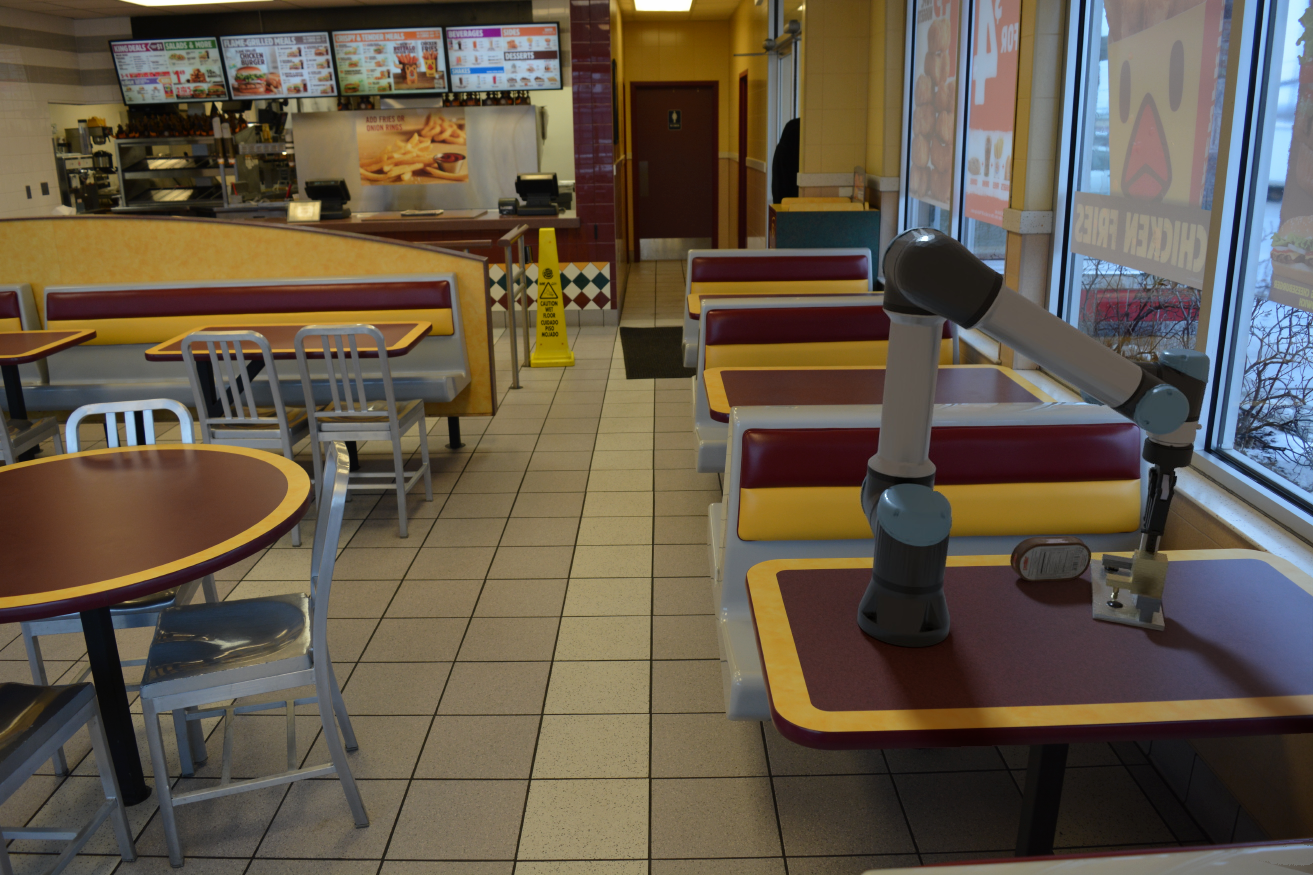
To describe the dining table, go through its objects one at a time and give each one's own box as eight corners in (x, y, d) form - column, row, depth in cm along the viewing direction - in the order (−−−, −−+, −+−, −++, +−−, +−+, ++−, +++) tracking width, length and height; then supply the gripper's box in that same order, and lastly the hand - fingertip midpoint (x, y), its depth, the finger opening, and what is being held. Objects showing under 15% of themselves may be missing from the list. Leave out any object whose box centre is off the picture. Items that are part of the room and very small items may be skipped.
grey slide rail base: (1104, 614, 165) (1108, 590, 163) (1100, 560, 186) (1104, 538, 185) (1156, 624, 162) (1161, 599, 160) (1147, 567, 183) (1151, 545, 182)
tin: (1081, 573, 183) (1087, 533, 180) (1090, 581, 180) (1097, 540, 177) (1006, 577, 181) (1012, 536, 178) (1014, 584, 178) (1020, 543, 175)
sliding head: (1103, 600, 169) (1112, 554, 166) (1103, 590, 173) (1111, 545, 170) (1159, 610, 166) (1168, 562, 163) (1157, 600, 170) (1166, 553, 167)
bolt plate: (1092, 618, 166) (1093, 612, 165) (1090, 563, 187) (1091, 558, 187) (1163, 631, 162) (1164, 625, 161) (1153, 573, 183) (1154, 568, 183)
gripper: (1199, 454, 156) (1172, 584, 163) (1190, 432, 168) (1165, 555, 175) (1148, 448, 159) (1124, 576, 166) (1142, 426, 170) (1120, 548, 178)
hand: (1145, 565), depth 170 cm, fingers closed
